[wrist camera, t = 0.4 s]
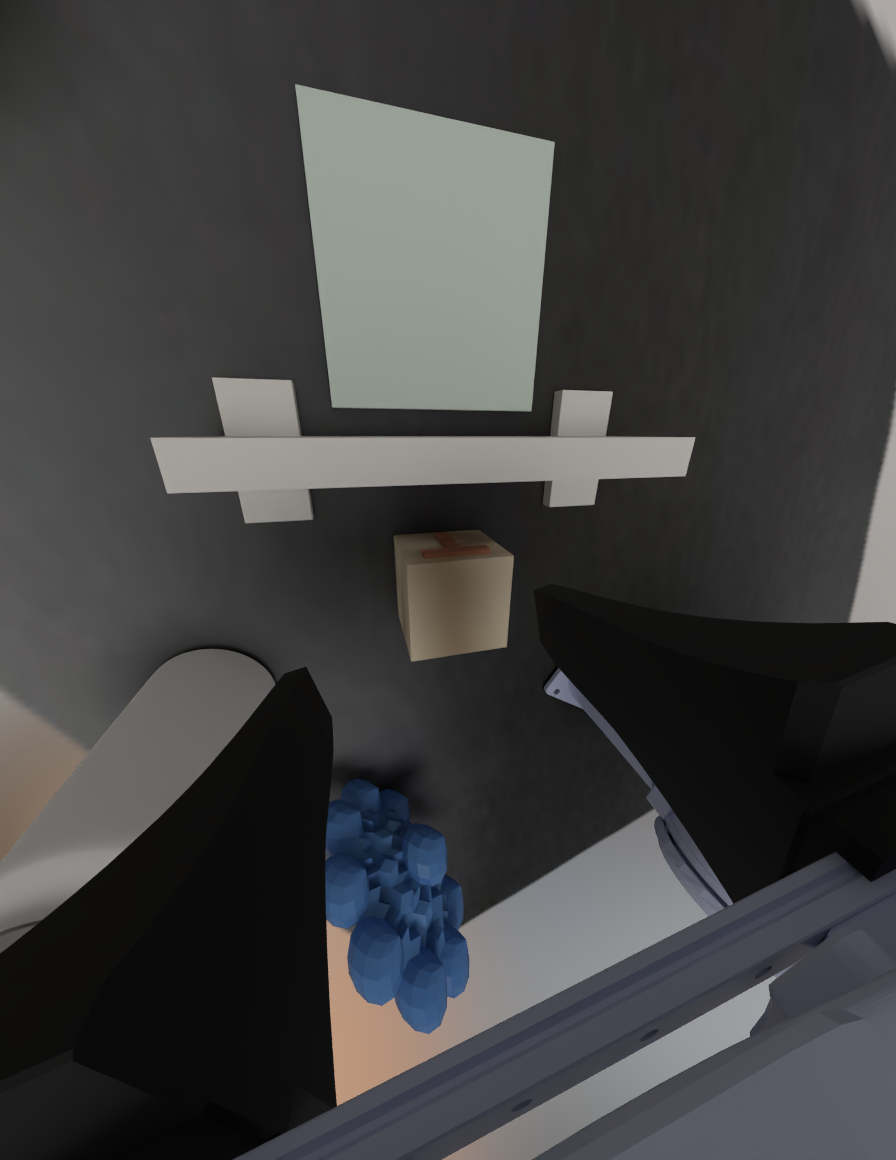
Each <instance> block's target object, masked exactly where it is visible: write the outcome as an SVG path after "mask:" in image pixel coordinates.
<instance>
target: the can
mask: <svg viewBox="0 0 896 1160" xmlns="http://www.w3.org/2000/svg"><path fill="white" fill-rule="evenodd" d="M274 686H275V682H274V680H273V678H272V676H271V675H270V673H269V672H268V671H267V670H266V669H265V668H264V667H263V666H262V665H261V664H259V663H258V662H257V661H255V660H253V659H252V658H250V657H248V656H245V655H243V654H240V653H237V652H233V651H229V650H222V649H201V650H195V651H190V652H186V653H183V654H181V655H178V656H176V657H174V658H172V659H170V660H168V661H167V662H165V663H164V664H163V665H162V666H161V667H159V668H158V669H157V670H156V671H155V673H154V674H153V675H152V676H151V677H150V678H149V680H148V681H147V682H146V683H145V684H144V686H143V687H142V688H141V689H140V690H139V692H138V693H137V694H136V695H135V696H134V698H133V699H132V700H131V701H130V703H129V704H128V705H127V706H126V707H125V709H124V710H123V711H122V712H121V714H120V715H119V716H118V717H117V719H116V720H115V721H114V722H113V723H112V725H111V726H110V727H109V728H108V730H107V731H106V732H105V733H104V735H103V736H102V737H101V738H100V739H99V741H98V742H97V743H96V744H95V746H94V747H93V748H92V749H91V751H90V752H89V753H88V754H87V755H86V757H85V758H84V759H83V761H82V762H81V763H80V764H79V765H78V767H77V768H76V769H75V770H74V772H73V773H72V774H71V775H70V776H69V778H68V779H67V780H66V781H65V783H64V784H63V785H62V786H61V788H60V789H59V790H58V791H57V793H56V794H55V795H54V796H53V797H52V799H51V800H50V801H49V803H48V804H47V805H46V806H45V807H44V809H43V810H42V811H41V812H40V814H39V815H38V816H37V817H36V819H35V820H34V821H33V822H32V824H31V825H30V826H29V827H28V829H27V830H26V831H25V832H24V834H23V835H22V836H21V837H20V839H19V840H18V841H17V842H16V844H15V845H14V846H13V847H12V849H11V850H10V851H9V852H8V854H7V855H6V856H5V857H4V859H3V860H2V861H1V862H0V953H1V952H2V951H4V950H5V949H6V948H8V947H9V946H10V945H12V944H13V943H14V942H15V941H17V940H18V939H19V938H20V937H22V936H23V935H24V934H25V933H27V932H28V931H29V930H30V929H32V928H33V927H34V926H35V925H37V924H38V923H39V922H40V921H42V920H43V919H44V918H45V917H46V916H48V915H49V914H50V913H51V912H52V911H54V910H55V909H56V908H57V907H58V906H60V905H61V904H62V903H63V902H65V901H66V900H67V899H68V898H69V897H71V896H72V895H73V894H74V893H75V892H77V891H78V890H79V889H80V888H81V887H82V886H84V885H85V884H86V883H87V882H88V881H89V880H91V879H92V878H93V877H94V876H95V875H96V874H98V873H99V872H100V871H101V870H102V869H103V868H105V867H106V866H107V865H108V864H109V863H110V862H111V861H112V860H114V859H115V858H116V857H117V856H118V855H119V854H120V853H121V852H122V851H123V850H124V849H125V848H127V847H128V846H129V845H130V844H131V843H132V842H133V841H134V840H135V839H136V838H137V837H138V836H140V835H141V834H142V833H143V832H144V831H145V830H146V829H147V828H148V827H149V826H150V825H151V824H152V823H154V822H155V821H156V820H157V819H158V818H159V817H160V816H161V815H162V814H163V813H164V812H165V811H166V810H167V809H168V808H169V807H170V806H171V805H172V804H173V803H174V802H175V801H176V800H177V799H178V798H179V797H180V796H181V795H182V794H183V793H184V792H185V791H186V790H187V789H188V788H189V787H190V786H191V785H192V784H193V783H194V782H195V780H196V779H197V778H198V777H199V776H200V775H201V774H202V773H203V772H204V771H205V770H206V769H207V767H208V766H209V765H210V764H211V763H212V762H213V761H214V759H215V758H216V757H217V756H218V755H219V753H220V752H221V751H222V750H223V749H224V748H225V746H226V745H227V744H228V743H229V742H230V741H231V739H232V738H233V737H234V736H235V735H236V734H237V732H238V731H239V730H240V729H241V728H242V726H243V725H244V724H245V722H246V721H247V720H248V719H249V717H250V716H251V715H252V714H253V712H254V711H255V710H256V709H257V707H258V706H259V705H260V703H261V702H262V701H263V700H264V698H265V697H266V696H267V694H268V693H269V692H270V691H271V689H272V688H273V687H274Z"/></svg>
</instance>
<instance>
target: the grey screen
mask: <svg viewBox="0 0 896 1160" xmlns="http://www.w3.org/2000/svg"><path fill="white" fill-rule="evenodd" d="M212 380H213V384H214V389H215V393H216V397H217V402H218V406H219V411H220V415H221V419H222V424H223V428H224V432H225V436H204V437H165V438H151V442H152V445H153V448H154V451H155V455H156V458H157V461H158V464H159V468H160V471H161V474H162V477H163V481H164V484H165V487H166V491H167V493H195V492H225V491H238V494H239V498H240V502H241V507H242V511H243V515H244V520H245V523H260V522H279V521H298V520H313V517H314V513H313V506H312V500H311V493H310V489H315V488H345V487H375V486H405V485H435V484H465V483H494V482H524V481H545V487H544V496H543V505H545V506H548V507H560V506H579V505H594V503H595V497H596V491H597V485H598V479H614V478H644V477H674V476H686V472H687V468H688V464H689V460H690V456H691V453H692V449H693V445H694V441H695V437H627V436H606V430H607V424H608V418H609V412H610V406H611V400H612V394H613V392H606V391H578V390H560V391H555V394H554V403H553V412H552V422H551V431H550V436H302V433H301V426H300V419H299V413H298V406H297V399H296V393H295V386H294V382H293V381H292V380H267V379H239V378H212Z"/></svg>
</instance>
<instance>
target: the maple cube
mask: <svg viewBox="0 0 896 1160" xmlns="http://www.w3.org/2000/svg"><path fill="white" fill-rule="evenodd" d="M394 551H395V568H396V584H397V601H398V615H399V619H400V622H401V626H402V630H403V633H404V637H405V641H406V644H407V648H408V652H409V655H410V659H411V662H412V661H419V660H425V659H432V658H438V657H445V656H451V655H458V654H464V653H471V652H477V651H484V650H490V649H497V648H503V647H507V635H508V623H509V611H510V598H511V586H512V573H513V561H514V556H513V555H512V554H511V553H509V552H508V551H507V550H505V549H504V548H503V547H501V546H500V545H499V544H497V543H496V542H495V541H493V540H492V539H491V538H489V537H488V536H486V535H485V534H484V533H482V532H481V531H480V530H465V531H450V532H435V533H420V534H405V535H394Z"/></svg>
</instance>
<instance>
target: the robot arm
mask: <svg viewBox="0 0 896 1160" xmlns="http://www.w3.org/2000/svg"><path fill="white" fill-rule="evenodd" d="M534 595H535V602H536V610H537V617H538V625H539V632H540V640H541V643H542V645H543V646H544V648H545V649H546V651H547V652H548V654H549V655H550V657H551V658H552V660H553V661H554V663H555V664H556V665H557V667H558V669H557V670H556V672H555V673H554V674H553V676H552V677H551V678H550V680H549V681H548V682H547V684H546V685H545V687H544V690H545V692H546V693H547V694H548V695H551V696H553V697H555V698H558V699H560V700H563V701H565V702H568V703H570V704H572V705H575V706H577V707H580V708H582V709H584V710H585V712H586V713H587V714H588V715H589V716H590V717H591V719H592V720H593V721H594V722H595V723H596V724H597V726H598V727H599V728H600V729H601V730H602V732H603V733H604V734H605V735H606V736H607V737H608V739H609V740H610V741H611V742H612V743H613V744H614V746H615V747H616V748H617V749H618V750H619V752H620V753H621V754H622V755H623V756H624V757H625V759H626V760H627V761H628V762H629V763H630V764H631V766H632V767H633V768H634V769H635V770H636V772H637V773H638V774H639V775H640V776H641V777H642V779H643V780H644V781H645V782H646V783H647V784H648V786H649V787H650V788H651V789H652V790H651V792H650V793H649V794H648V795H647V797H646V799H647V800H648V801H649V802H650V804H651V805H652V806H653V807H654V809H655V810H656V811H657V812H658V813H659V816H658V817H657V818H656V820H655V824H654V827H655V831H656V835H657V837H658V842H659V846H660V849H661V851H662V853H663V856H664V858H665V859H666V861H667V863H668V865H669V866H670V868H671V870H672V871H673V873H674V874H675V876H676V877H677V879H678V880H679V881H680V883H681V884H682V885H683V887H684V888H685V889H686V891H687V892H688V893H689V894H690V896H691V897H692V898H693V899H694V901H695V902H696V903H697V904H698V905H699V906H700V907H701V908H702V910H703V911H704V912H705V913H706V914H707V915H708V917H707V918H705V919H703V920H701V921H699V922H697V923H695V924H693V925H691V926H689V927H687V928H685V929H683V930H681V931H679V932H677V933H675V934H673V935H671V936H670V937H667V938H665V939H663V940H662V941H660V942H658V943H656V944H654V945H652V946H650V947H648V948H646V949H644V950H642V951H640V952H638V953H636V954H634V955H632V956H630V957H628V958H626V959H624V960H623V961H620V962H619V963H617V964H615V965H613V966H611V967H609V968H607V969H605V970H603V971H601V972H599V973H597V974H595V975H593V976H591V977H589V978H587V979H585V980H583V981H582V982H579V983H578V984H576V985H573V986H572V987H570V988H568V989H566V990H564V991H562V992H560V993H558V994H556V995H554V996H552V997H550V998H548V999H546V1000H544V1001H542V1002H540V1003H538V1004H536V1005H534V1006H533V1007H530V1008H528V1009H527V1010H525V1011H523V1012H521V1013H519V1014H517V1015H515V1016H513V1017H511V1018H509V1019H507V1020H505V1021H503V1022H501V1023H499V1024H497V1025H495V1026H493V1027H491V1028H489V1029H488V1030H485V1031H484V1032H482V1033H480V1034H478V1035H476V1036H474V1037H472V1038H470V1039H468V1040H466V1041H464V1042H462V1043H460V1044H458V1045H456V1046H454V1047H452V1048H450V1049H448V1050H446V1051H444V1052H442V1053H441V1054H438V1055H437V1056H435V1057H433V1058H431V1059H429V1060H427V1061H425V1062H423V1063H421V1064H419V1065H417V1066H415V1067H413V1068H411V1069H409V1070H407V1071H405V1072H403V1073H401V1074H400V1075H398V1076H395V1077H393V1078H392V1079H390V1080H388V1081H386V1082H384V1083H382V1084H380V1085H378V1086H376V1087H374V1088H372V1089H370V1090H368V1091H366V1092H364V1093H362V1094H360V1095H358V1096H356V1097H354V1098H353V1099H350V1100H348V1101H346V1102H345V1103H343V1104H341V1105H339V1106H337V1103H336V1091H335V1078H334V1064H333V1049H332V1035H331V1019H330V1001H329V980H328V959H327V930H326V877H325V850H326V831H327V820H328V809H329V797H330V786H331V775H332V763H333V727H332V717H331V715H330V713H329V711H328V709H327V707H326V705H325V703H324V701H323V699H322V697H321V695H320V693H319V691H318V689H317V687H316V685H315V683H314V681H313V679H312V677H311V675H310V673H309V671H308V670H307V668H306V667H303V668H300V669H297V670H294V671H291V672H288V673H285V674H284V675H283V676H282V677H281V678H280V680H279V681H278V682H277V683H276V684H275V686H274V687H273V688H272V689H271V691H270V692H269V693H268V694H267V696H266V697H265V698H264V700H263V701H262V702H261V703H260V705H259V706H258V707H257V709H256V710H255V711H254V712H253V714H252V715H251V716H250V717H249V719H248V720H247V721H246V722H245V724H244V725H243V726H242V728H241V729H240V730H239V731H238V732H237V734H236V735H235V736H234V737H233V738H232V739H231V741H230V742H229V743H228V744H227V745H226V746H225V748H224V749H223V750H222V751H221V752H220V753H219V755H218V756H217V757H216V758H215V759H214V761H213V762H212V763H211V764H210V765H209V766H208V767H207V769H206V770H205V771H204V772H203V773H202V774H201V775H200V776H199V777H198V778H197V779H196V780H195V782H194V783H193V784H192V785H191V786H190V787H189V788H188V789H187V790H186V791H185V792H184V793H183V794H182V795H181V796H180V797H179V798H178V799H177V800H176V801H175V802H174V803H173V804H172V805H171V806H170V807H169V808H168V809H167V810H166V811H165V812H164V813H163V814H162V815H161V816H160V817H159V818H158V819H157V820H156V821H155V822H154V823H152V824H151V825H150V826H149V827H148V828H147V829H146V830H145V831H144V832H143V833H142V834H141V835H140V836H138V837H137V838H136V839H135V840H134V841H133V842H132V843H131V844H130V845H129V846H128V847H127V848H125V849H124V850H123V851H122V852H121V853H120V854H119V855H118V856H117V857H116V858H115V859H114V860H112V861H111V862H110V863H109V864H108V865H107V866H106V867H105V868H103V869H102V870H101V871H100V872H99V873H98V874H96V875H95V876H94V877H93V878H92V879H91V880H89V881H88V882H87V883H86V884H85V885H84V886H82V887H81V888H80V889H79V890H78V891H77V892H75V893H74V894H73V895H72V896H71V897H69V898H68V899H67V900H66V901H65V902H63V903H62V904H61V905H60V906H58V907H57V908H56V909H55V910H54V911H52V912H51V913H50V914H49V915H48V916H46V917H45V918H44V919H43V920H42V921H40V922H39V923H38V924H37V925H35V926H34V927H33V928H32V929H30V930H29V931H28V932H27V933H25V934H24V935H23V936H22V937H20V938H19V939H18V940H17V941H15V942H14V943H13V944H12V945H10V946H9V947H8V948H6V949H5V950H4V951H2V952H1V953H0V1160H441V1159H443V1158H445V1157H447V1156H448V1155H451V1154H452V1153H454V1152H456V1151H458V1150H459V1149H461V1148H463V1147H465V1146H467V1145H468V1144H470V1143H472V1142H474V1141H476V1140H477V1139H479V1138H481V1137H483V1136H485V1135H487V1134H488V1133H490V1132H492V1131H494V1130H496V1129H497V1128H499V1127H501V1126H503V1125H505V1124H506V1123H508V1122H510V1121H512V1120H514V1119H515V1118H517V1117H519V1116H521V1115H523V1114H525V1113H526V1112H528V1111H530V1110H532V1109H533V1108H535V1107H537V1106H539V1105H541V1104H542V1103H544V1102H546V1101H548V1100H550V1099H551V1098H553V1097H555V1096H557V1095H559V1094H561V1093H562V1092H564V1091H566V1090H568V1089H570V1088H571V1087H573V1086H575V1085H577V1084H579V1083H580V1082H582V1081H584V1080H586V1079H588V1078H589V1077H591V1076H593V1075H595V1074H597V1073H598V1072H600V1071H602V1070H604V1069H606V1068H607V1067H609V1066H611V1065H613V1064H614V1063H616V1062H618V1061H620V1060H622V1059H624V1058H626V1057H627V1056H629V1055H631V1054H633V1053H634V1052H636V1051H638V1050H640V1049H642V1048H644V1047H645V1046H647V1045H649V1044H651V1043H653V1042H654V1041H656V1040H658V1039H660V1038H662V1037H663V1036H665V1035H667V1034H669V1033H671V1032H672V1031H674V1030H676V1029H678V1028H680V1027H681V1026H683V1025H685V1024H687V1023H688V1022H690V1021H692V1020H694V1019H696V1018H697V1017H699V1016H701V1015H703V1014H705V1013H706V1012H708V1011H710V1010H712V1009H714V1008H716V1007H717V1006H719V1005H721V1004H723V1003H725V1002H726V1001H728V1000H730V999H732V998H734V997H735V996H737V995H739V994H741V993H743V992H745V991H746V990H748V989H750V988H752V987H753V986H755V985H757V984H759V983H761V982H763V981H764V980H766V979H768V978H770V977H771V976H773V975H774V976H775V977H776V978H777V979H775V980H774V981H773V982H772V983H771V984H769V991H770V997H771V998H770V1001H769V1003H768V1005H767V1008H766V1010H765V1013H764V1014H763V1015H762V1016H761V1018H760V1019H759V1020H758V1022H757V1023H756V1024H755V1026H754V1027H753V1028H752V1030H751V1031H750V1037H749V1038H747V1039H745V1040H743V1041H741V1042H739V1043H736V1044H735V1045H733V1046H730V1047H728V1048H726V1049H724V1050H722V1051H720V1052H718V1053H717V1054H715V1055H713V1056H711V1057H709V1058H707V1059H705V1060H703V1061H702V1062H700V1063H698V1064H696V1065H694V1066H692V1067H690V1068H689V1069H687V1070H685V1071H683V1072H681V1073H679V1074H677V1075H675V1076H674V1077H672V1078H670V1079H668V1080H666V1081H665V1082H662V1083H661V1084H659V1085H657V1086H655V1087H654V1088H652V1089H650V1090H648V1091H647V1092H645V1093H643V1094H641V1095H640V1096H638V1097H636V1098H634V1099H633V1100H631V1101H629V1102H627V1103H626V1104H624V1105H622V1106H621V1107H619V1108H617V1109H615V1110H614V1111H612V1112H610V1113H608V1114H607V1115H605V1116H603V1117H601V1118H600V1119H598V1120H596V1121H595V1122H593V1123H591V1124H590V1125H588V1126H586V1127H585V1128H583V1129H581V1130H580V1131H578V1132H576V1133H575V1134H573V1135H572V1136H570V1137H568V1138H567V1139H565V1140H563V1141H562V1142H561V1143H559V1144H557V1145H555V1146H554V1147H552V1148H550V1149H549V1150H547V1151H545V1152H544V1153H542V1154H541V1155H539V1156H537V1157H536V1158H534V1159H532V1160H896V624H894V623H889V622H865V623H777V622H755V621H740V620H729V619H717V618H708V617H699V616H692V615H685V614H678V613H672V612H665V611H660V610H655V609H650V608H645V607H640V606H636V605H631V604H627V603H623V602H619V601H615V600H611V599H607V598H603V597H599V596H596V595H592V594H588V593H585V592H581V591H578V590H574V589H570V588H566V587H562V586H558V585H553V584H551V585H548V586H545V587H542V588H539V589H536V590H534Z"/></svg>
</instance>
